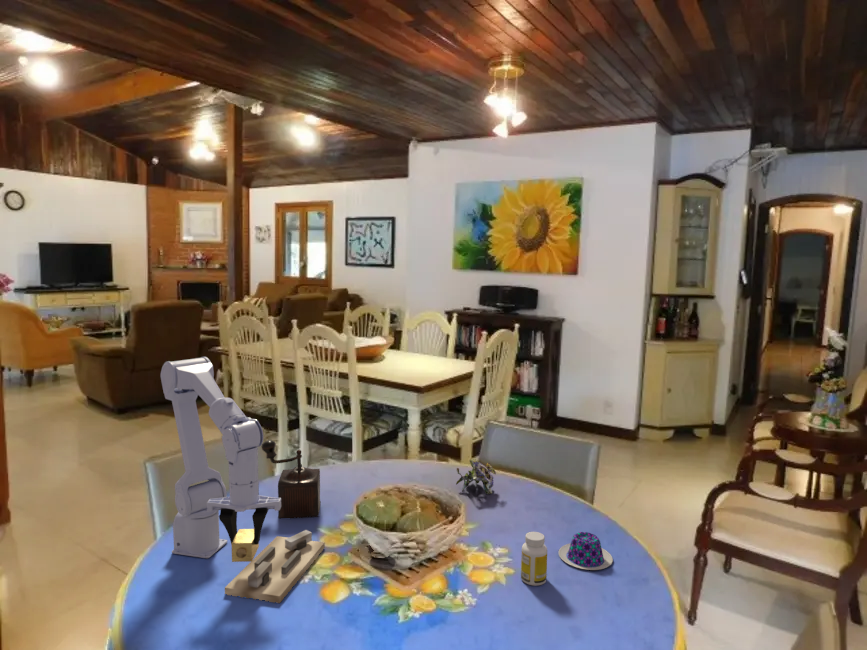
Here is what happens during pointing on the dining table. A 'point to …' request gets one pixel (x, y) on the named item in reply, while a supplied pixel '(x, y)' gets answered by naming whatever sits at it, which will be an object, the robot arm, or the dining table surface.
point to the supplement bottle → (534, 559)
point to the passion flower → (479, 476)
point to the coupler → (244, 546)
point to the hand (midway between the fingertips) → (245, 542)
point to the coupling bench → (276, 568)
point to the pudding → (585, 552)
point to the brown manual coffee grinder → (296, 487)
